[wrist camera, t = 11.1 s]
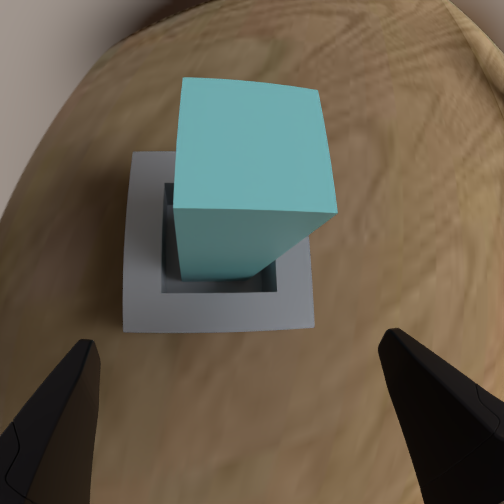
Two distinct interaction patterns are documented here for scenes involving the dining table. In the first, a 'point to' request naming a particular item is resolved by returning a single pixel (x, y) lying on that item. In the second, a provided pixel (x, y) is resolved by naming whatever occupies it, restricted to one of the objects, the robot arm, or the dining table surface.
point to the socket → (199, 293)
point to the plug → (247, 176)
